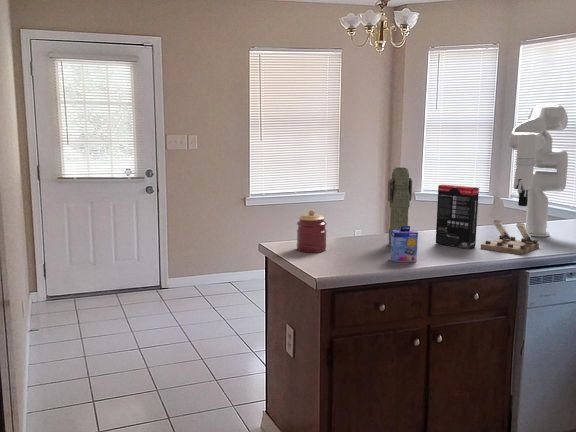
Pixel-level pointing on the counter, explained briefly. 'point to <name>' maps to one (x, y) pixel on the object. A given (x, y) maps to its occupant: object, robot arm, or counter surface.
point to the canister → (311, 233)
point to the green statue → (399, 199)
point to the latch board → (510, 245)
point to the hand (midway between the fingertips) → (522, 205)
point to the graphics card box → (457, 216)
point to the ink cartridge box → (404, 245)
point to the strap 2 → (524, 232)
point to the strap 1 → (502, 229)
